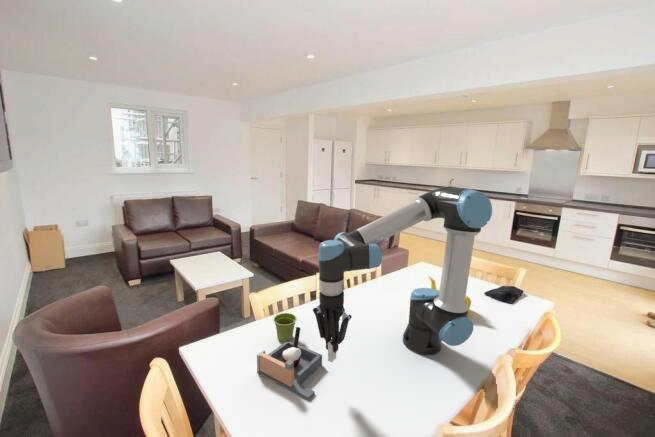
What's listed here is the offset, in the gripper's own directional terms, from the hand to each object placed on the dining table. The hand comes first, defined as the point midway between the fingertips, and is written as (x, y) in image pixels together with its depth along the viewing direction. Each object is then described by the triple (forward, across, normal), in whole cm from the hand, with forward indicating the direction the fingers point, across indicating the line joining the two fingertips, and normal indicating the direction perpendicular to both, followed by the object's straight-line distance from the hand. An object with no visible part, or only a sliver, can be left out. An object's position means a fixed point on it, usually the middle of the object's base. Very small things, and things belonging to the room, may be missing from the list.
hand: (332, 359), depth 100 cm
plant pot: (+10, +31, -13) cm, 35 cm away
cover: (+8, +17, +8) cm, 21 cm away
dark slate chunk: (+16, -44, -115) cm, 124 cm away
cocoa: (+9, +17, 0) cm, 19 cm away
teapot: (+13, -20, -78) cm, 82 cm away
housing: (+10, +14, +1) cm, 17 cm away
